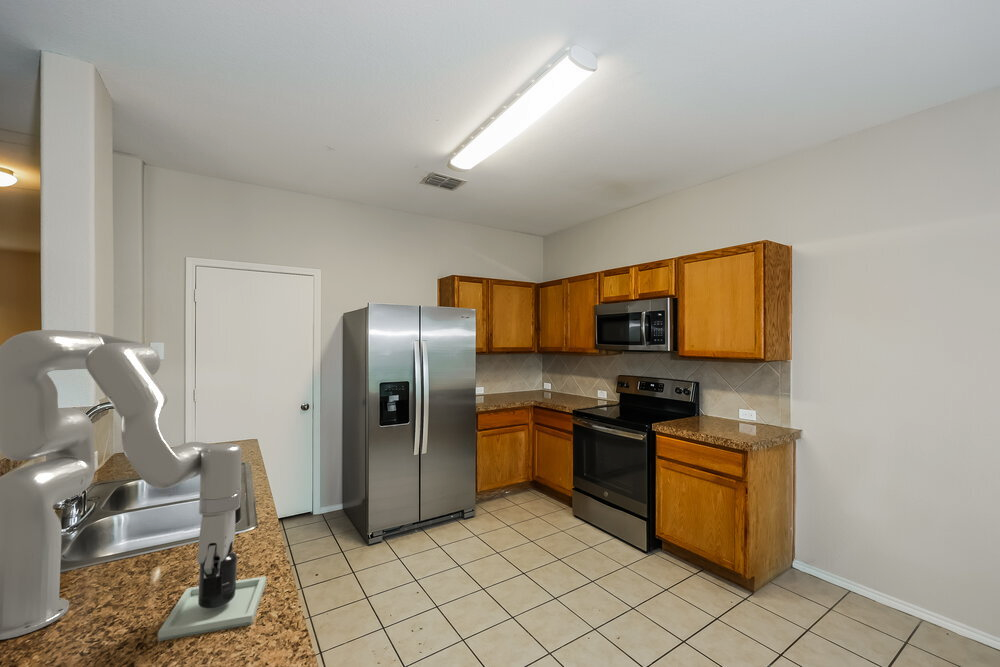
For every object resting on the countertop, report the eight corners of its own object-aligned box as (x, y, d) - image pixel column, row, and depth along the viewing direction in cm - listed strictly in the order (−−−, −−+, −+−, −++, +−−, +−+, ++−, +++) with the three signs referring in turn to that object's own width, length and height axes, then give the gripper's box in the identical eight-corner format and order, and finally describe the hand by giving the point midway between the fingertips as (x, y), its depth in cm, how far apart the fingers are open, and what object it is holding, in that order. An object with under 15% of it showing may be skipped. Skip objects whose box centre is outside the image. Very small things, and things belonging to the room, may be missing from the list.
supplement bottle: (217, 611, 89) (219, 552, 90) (189, 607, 91) (191, 549, 91) (243, 593, 96) (245, 538, 96) (217, 589, 97) (219, 535, 98)
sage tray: (157, 641, 83) (158, 632, 83) (186, 596, 98) (187, 588, 98) (252, 624, 88) (252, 615, 89) (266, 583, 104) (266, 576, 104)
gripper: (211, 491, 101) (209, 569, 100) (185, 519, 85) (182, 612, 84) (248, 488, 103) (246, 564, 103) (229, 515, 87) (227, 605, 87)
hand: (217, 585), depth 93 cm, fingers closed on supplement bottle, 6 cm apart
